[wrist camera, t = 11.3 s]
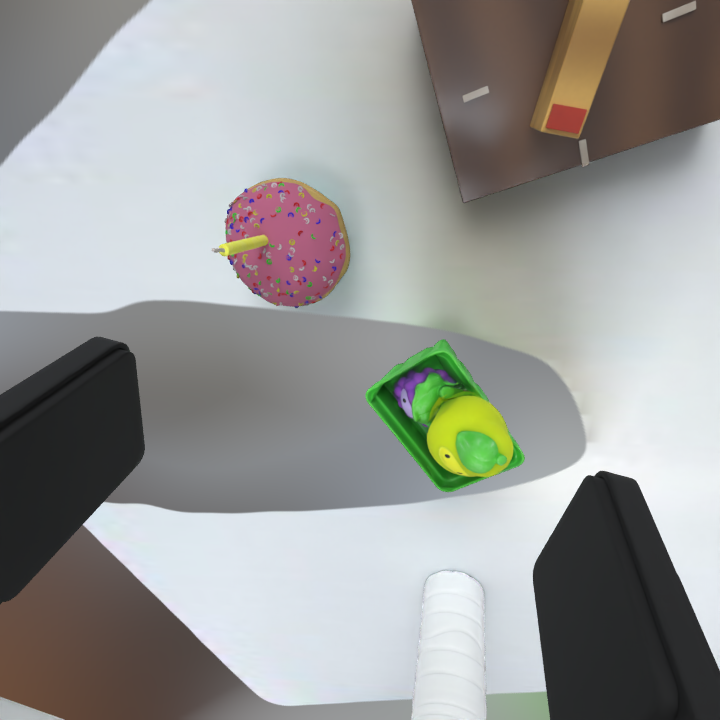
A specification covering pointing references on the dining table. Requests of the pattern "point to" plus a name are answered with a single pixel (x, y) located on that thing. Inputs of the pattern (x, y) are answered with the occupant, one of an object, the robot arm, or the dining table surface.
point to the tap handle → (577, 65)
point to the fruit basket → (444, 419)
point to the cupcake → (286, 242)
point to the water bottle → (451, 650)
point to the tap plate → (527, 73)
